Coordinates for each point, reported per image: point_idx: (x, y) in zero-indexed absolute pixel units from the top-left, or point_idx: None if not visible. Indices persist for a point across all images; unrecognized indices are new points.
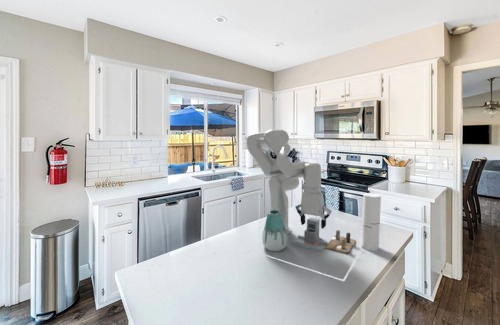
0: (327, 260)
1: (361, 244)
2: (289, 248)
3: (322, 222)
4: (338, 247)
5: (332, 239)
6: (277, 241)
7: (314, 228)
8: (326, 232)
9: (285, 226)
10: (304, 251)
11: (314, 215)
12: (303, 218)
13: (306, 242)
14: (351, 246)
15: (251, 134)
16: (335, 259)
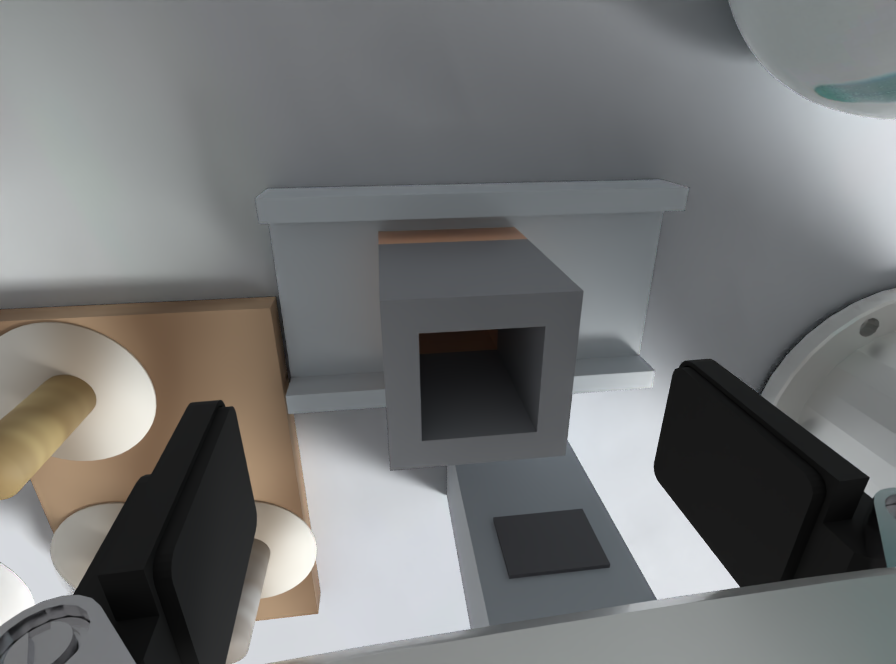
0: (87, 22)
1: (11, 595)
2: (654, 56)
3: (134, 510)
4: (130, 387)
5: (291, 520)
6: None
7: (497, 528)
8: (436, 630)
9: (870, 433)
10: (456, 95)
11: (406, 640)
12: (761, 489)
13: (493, 239)
14: (40, 495)
15: None
16: (28, 121)
